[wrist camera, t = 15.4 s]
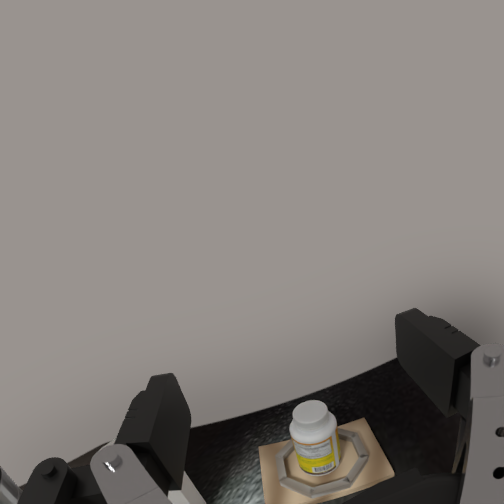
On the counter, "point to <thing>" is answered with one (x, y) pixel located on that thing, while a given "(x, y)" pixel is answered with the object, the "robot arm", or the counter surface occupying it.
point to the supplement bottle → (315, 438)
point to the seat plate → (330, 485)
